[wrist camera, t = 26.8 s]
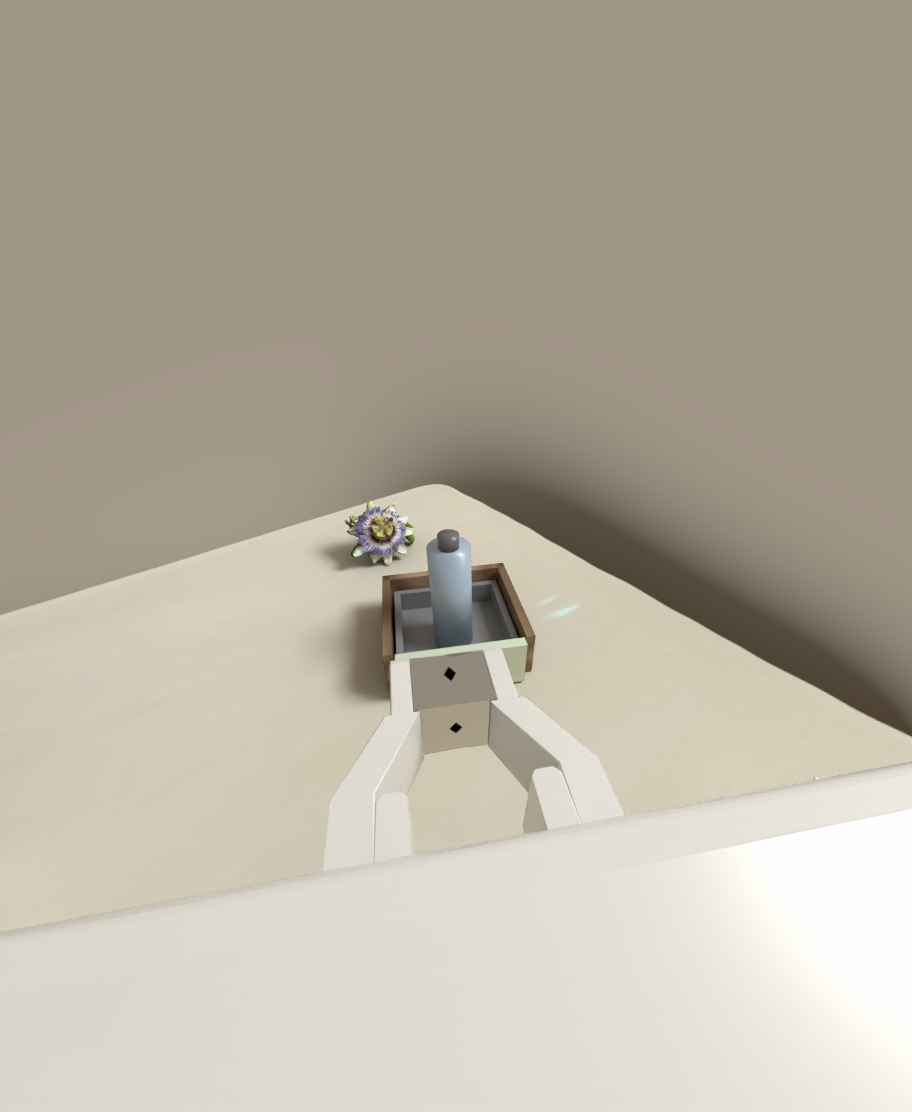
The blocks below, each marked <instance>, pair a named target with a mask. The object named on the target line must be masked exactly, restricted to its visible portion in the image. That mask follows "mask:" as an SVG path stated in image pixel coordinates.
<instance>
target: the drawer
mask: <svg viewBox="0 0 912 1112" xmlns="http://www.w3.org/2000/svg"><path fill="white" fill-rule="evenodd" d="M394 601H395V628H396V654H395V660H404V659H409V660H410V659H412V658H422V657H432V656H441V655H446V654H453V653H460V652H468V651H475V650H484V649H491V648H499V647H500V648H501V649H502V651H503V654H504V657H505V660H506V663H507V666H508V669H509V672H510V675H511V678H512V681H513V682H519V681H524V676H525V666H526V656H527V647H528V645H527V642H526V640H525V637H523V638H518V636H517V633H516V631H515V628H514V626H513V623H512V621H511V618H510V616H509V613H508V610H507V608H506V605H505V603H504V600H503V598H502V595H501V593H500V590H499V588H498V585H497V583H496V580H490V581H482V582H473V583H472V631H473V638H472V642H471V643H470V645H463V646H455V647H448V648H440V647H439V646H438V645H437V644H436V642H435V636H434V625H433V614H432V603H431V593H430V587H429V588H421V589H412V590H403V591H394Z"/></svg>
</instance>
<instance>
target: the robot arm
mask: <svg viewBox="0 0 912 1112" xmlns="http://www.w3.org/2000/svg"><path fill="white" fill-rule="evenodd" d="M390 712H391V715H388V716H385V717H384V718H383V720H382V721H381V723H380V724H379V726H378V728H377V729H376V731H375V732H374V734H373V735H372V737H371V738H370V740H369V742H368V743H367V745H366V746H365V748H364V749H363V751H362V752H361V754H360V756H359V757H358V759H357V760H356V762H355V763H354V765H353V767H352V768H351V770H350V771H349V773H348V774H347V776H346V777H345V779H344V781H343V782H342V784H341V785H340V787H339V788H338V790H337V791H336V793H335V795H334V796H333V798H332V799H331V801H330V808H329V818H328V827H327V836H326V846H325V855H324V864H323V872H319V873H314V874H308V875H303V876H298V877H292V878H287V879H282V880H276V881H271V882H266V883H260V884H255V885H250V886H244V887H239V888H234V889H228V890H223V891H218V892H212V893H207V894H202V895H196V896H191V897H186V898H180V899H175V900H170V901H164V902H159V903H154V904H148V905H143V906H138V907H132V908H127V909H122V910H116V911H111V912H106V913H100V914H95V915H89V916H84V917H79V918H73V919H68V920H63V921H57V922H52V923H47V924H41V925H36V926H31V927H25V928H20V929H15V930H9V931H4V932H0V1112H912V762H907V763H902V764H897V765H891V766H886V767H881V768H875V769H870V770H864V771H859V772H854V773H848V774H843V775H838V776H832V777H827V778H822V779H816V780H811V781H806V782H800V783H795V784H790V785H784V786H779V787H774V788H768V789H763V790H758V791H752V792H747V793H742V794H736V795H731V796H726V797H720V798H715V799H709V800H704V801H699V802H693V803H688V804H683V805H677V806H672V807H667V808H661V809H656V810H651V811H645V812H640V813H635V814H629V815H624V813H623V811H622V808H621V806H620V804H619V802H618V800H617V798H616V795H615V793H614V791H613V789H612V787H611V785H610V783H609V780H608V778H607V776H606V774H605V772H604V770H603V767H602V765H601V763H600V761H599V759H598V757H597V756H595V755H594V754H593V753H592V752H591V751H589V750H588V749H587V748H586V747H585V746H583V745H582V744H581V743H580V742H578V741H577V740H576V739H575V738H574V737H572V736H571V735H570V734H569V733H568V732H566V731H565V730H564V729H563V728H561V727H560V726H559V725H558V724H557V723H555V722H554V721H553V720H552V719H551V718H549V717H548V716H547V715H546V714H544V713H543V712H542V711H541V710H540V709H538V708H537V707H536V706H535V705H534V704H532V703H531V702H530V701H529V700H527V699H526V698H525V697H524V696H522V697H518V695H517V692H516V689H515V686H514V683H513V681H512V678H511V675H510V672H509V669H508V666H507V663H506V660H505V657H504V654H503V651H502V649H501V648H500V647H499V648H491V649H484V650H475V651H468V652H460V653H453V654H446V655H441V656H432V657H422V658H412V659H410V660H409V659H404V660H395V661H390ZM481 745H488V746H489V748H490V749H491V750H492V751H493V752H494V753H495V754H496V756H497V757H498V758H499V759H500V760H501V761H502V763H503V764H504V765H505V766H506V767H507V768H508V770H509V771H510V772H511V773H512V774H513V775H514V776H515V778H516V779H517V780H518V781H519V782H520V783H521V785H522V786H523V787H524V788H525V789H526V790H527V792H528V793H529V794H528V800H527V805H526V810H525V816H524V821H523V829H524V833H525V834H522V835H517V836H511V837H506V838H501V839H495V840H490V841H485V842H479V843H474V844H469V845H463V846H458V847H453V848H447V849H442V850H436V851H431V852H426V853H420V854H416V850H415V842H414V835H413V829H412V823H411V816H410V810H409V804H408V797H407V795H408V793H409V791H410V789H411V786H412V784H413V782H414V779H415V777H416V775H417V773H418V770H419V768H420V766H421V763H422V761H423V759H424V755H425V754H430V753H435V752H441V751H446V750H452V749H457V748H465V747H473V746H481Z"/></svg>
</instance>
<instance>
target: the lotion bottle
mask: <svg viewBox="0 0 912 1112" xmlns="http://www.w3.org/2000/svg"><path fill="white" fill-rule="evenodd" d="M426 549H427V560H428V571H429V582H430V593H431V603H432V614H433V625H434V636H435V642H436V644H437V645H438V646H439V647H440V648H448V647H455V646H463V645H470V643H471V642H472V638H473V631H472V578H471V545H470V543H469V542H468V541H467V540H466V539H464V538H461V537H459V533H458V532H457V531H455V530H450V529H448V530H442V531H440V532H439V533H438V534H437V538H436V539H434V540H432V541H431V542H429V544H428V545H427V548H426Z"/></svg>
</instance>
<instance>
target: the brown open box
mask: <svg viewBox="0 0 912 1112" xmlns="http://www.w3.org/2000/svg"><path fill="white" fill-rule="evenodd" d="M471 578H472V583H473V582H482V581H490V580H496V583H497V585H498V588H499V590H500V593H501V595H502V598H503V600H504V603H505V605H506V608H507V610H508V613H509V616H510V618H511V621H512V623H513V626H514V628H515V631H516V633H517V636H518V638H523V637H525V640H526V642H527V645H528V647H527V656H526V666H525V672H528V671H531V669H532V661H533V652H534V644H535V634H534V632H533V629H532V627H531V625H530V623H529V620H528V618H527V616H526V614H525V611H524V609H523V607H522V605H521V603H520V600H519V598H518V596H517V594H516V591H515V589H514V587H513V585H512V582H511V580H510V578H509V576H508V573H507V571H506V569H505V567H504V565H503V563H498V564H489V565H480V566H471ZM429 587H430V582H429V571H425V572H416V573H407V574H398V575H389V576H383V582H382V658H383V663H384V668H385V674H386V679H387V684H388V690H389V691H390V661H395V654H396V639H395V601H394V591H403V590H412V589H421V588H429Z"/></svg>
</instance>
